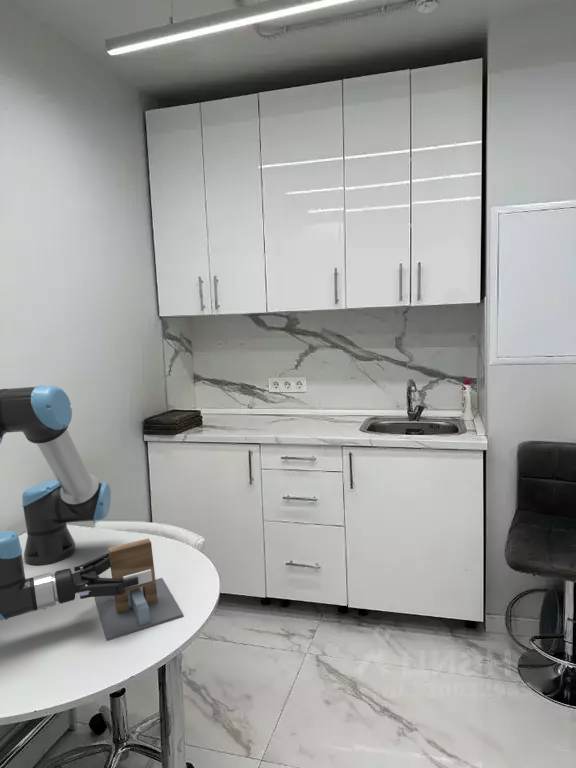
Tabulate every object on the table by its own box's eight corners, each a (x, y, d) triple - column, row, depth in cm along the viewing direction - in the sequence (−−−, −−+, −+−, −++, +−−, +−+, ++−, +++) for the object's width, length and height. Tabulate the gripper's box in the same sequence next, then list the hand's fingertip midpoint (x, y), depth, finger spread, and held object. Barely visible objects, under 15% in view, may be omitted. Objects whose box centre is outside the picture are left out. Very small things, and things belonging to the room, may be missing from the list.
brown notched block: (115, 608, 138) (108, 548, 136) (155, 596, 142) (148, 538, 140) (117, 613, 135) (110, 552, 133) (157, 601, 139) (151, 542, 137)
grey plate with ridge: (94, 598, 145) (92, 582, 144) (162, 579, 152) (160, 564, 152) (106, 640, 125) (104, 621, 124) (183, 616, 133) (181, 598, 132)
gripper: (54, 581, 141) (137, 560, 150) (61, 628, 119) (158, 599, 128) (50, 554, 140) (134, 534, 149) (56, 596, 118) (154, 569, 127)
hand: (145, 564), depth 139 cm, fingers open, 13 cm apart
